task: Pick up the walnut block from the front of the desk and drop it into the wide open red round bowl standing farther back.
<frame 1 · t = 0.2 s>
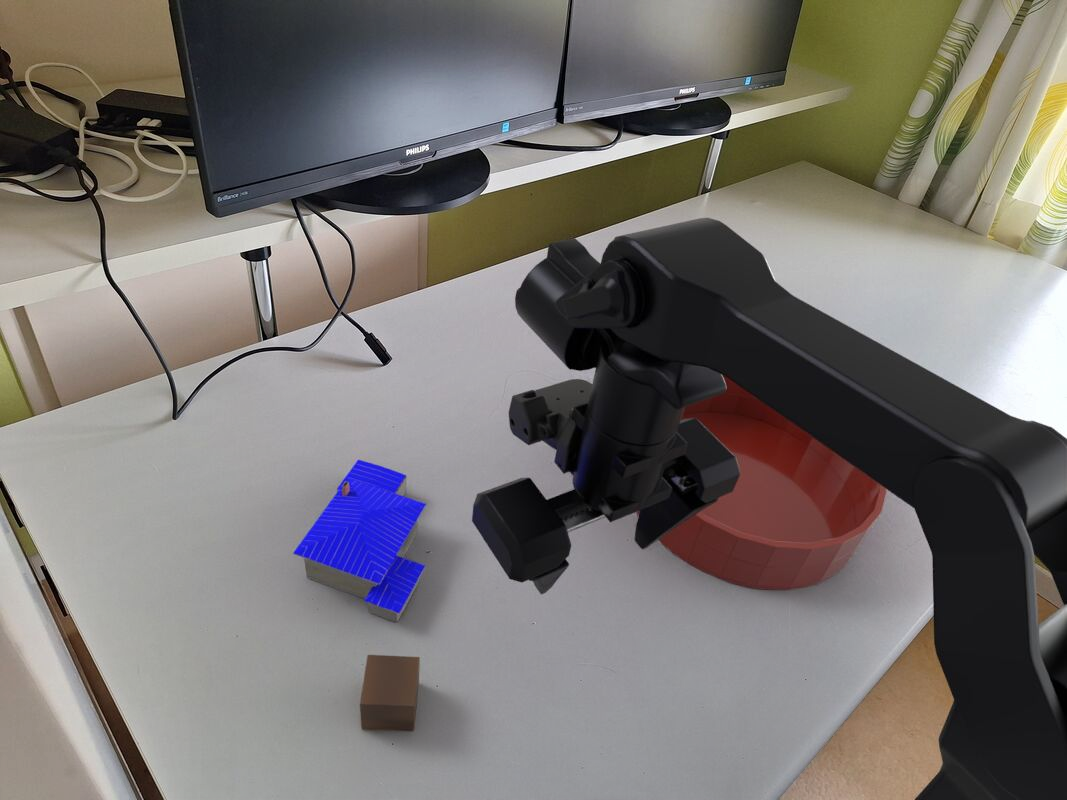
hand: (591, 565, 57), 12 cm above the table, tool pointing down, fingers open, 9 cm apart
house: (362, 552, 71), on the table
block: (391, 705, 60), on the table
red round bowl: (741, 490, 82), on the table
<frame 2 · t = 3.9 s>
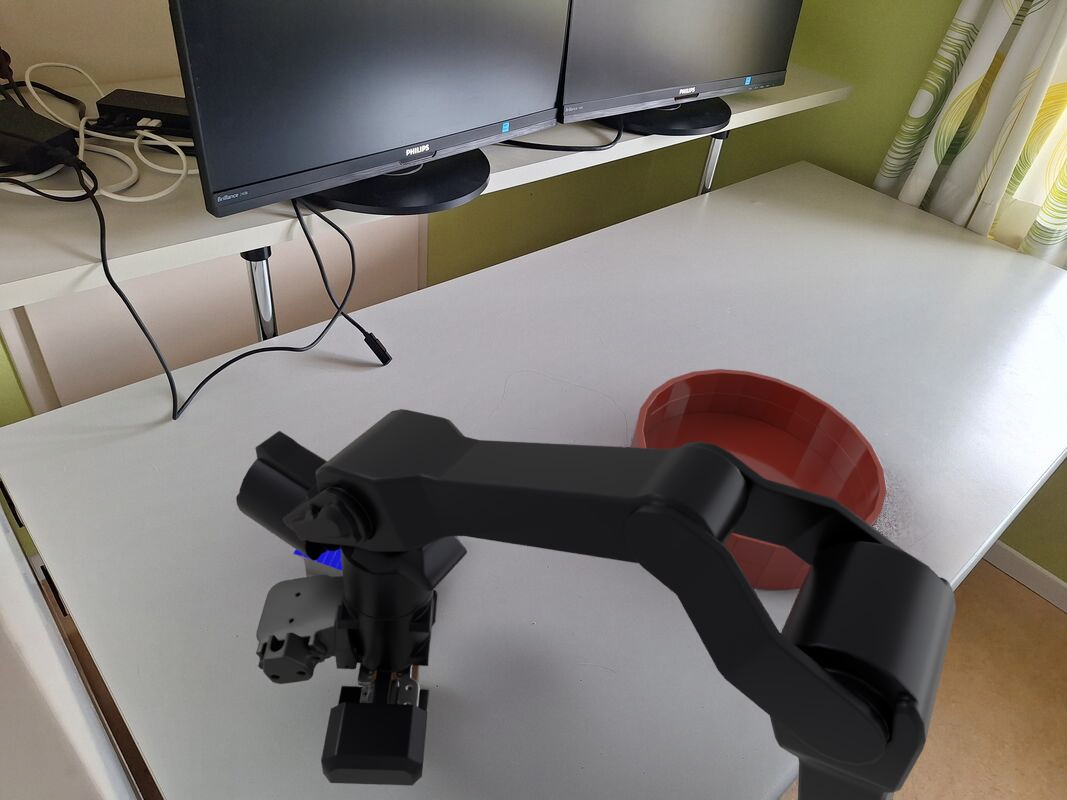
hand: (391, 699, 59), 1 cm above the table, tool pointing down, fingers closed on block, 4 cm apart
block: (390, 705, 60), on the table, touching gripper
everything else where it was.
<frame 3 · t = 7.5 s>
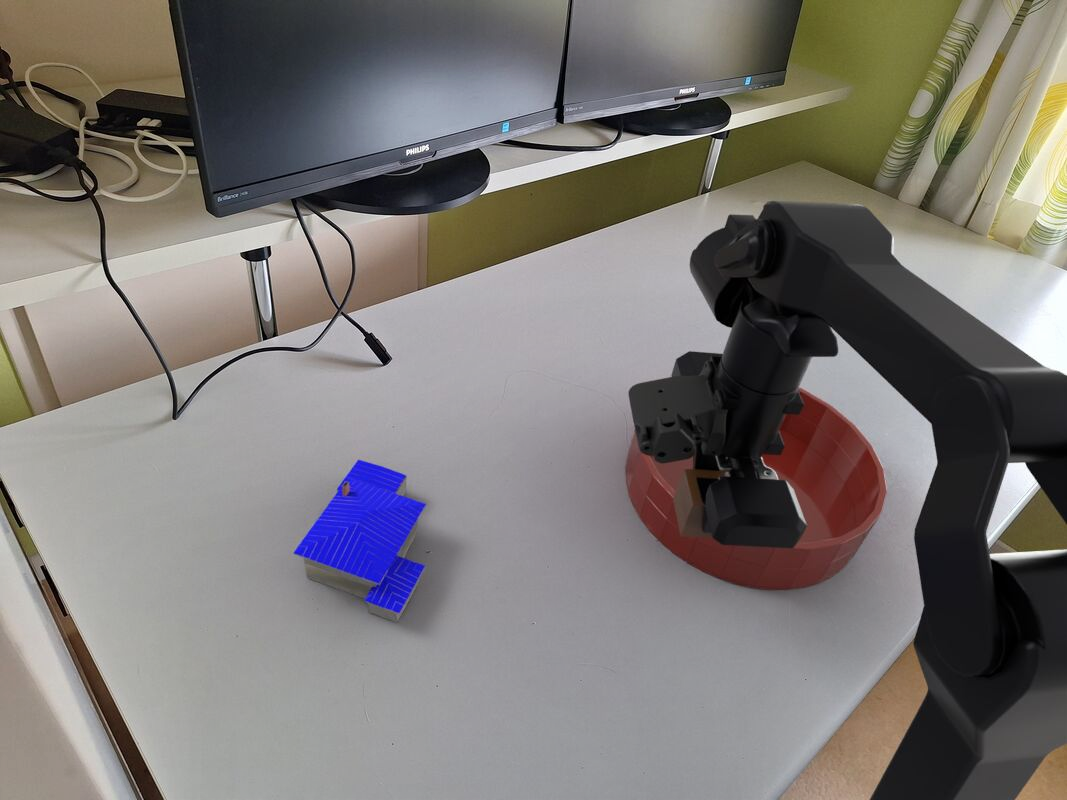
hand: (703, 511, 64), 11 cm above the table, tool pointing down, fingers closed on block, 4 cm apart
block: (699, 518, 65), point 10 cm above the table, touching gripper
everything else where it was.
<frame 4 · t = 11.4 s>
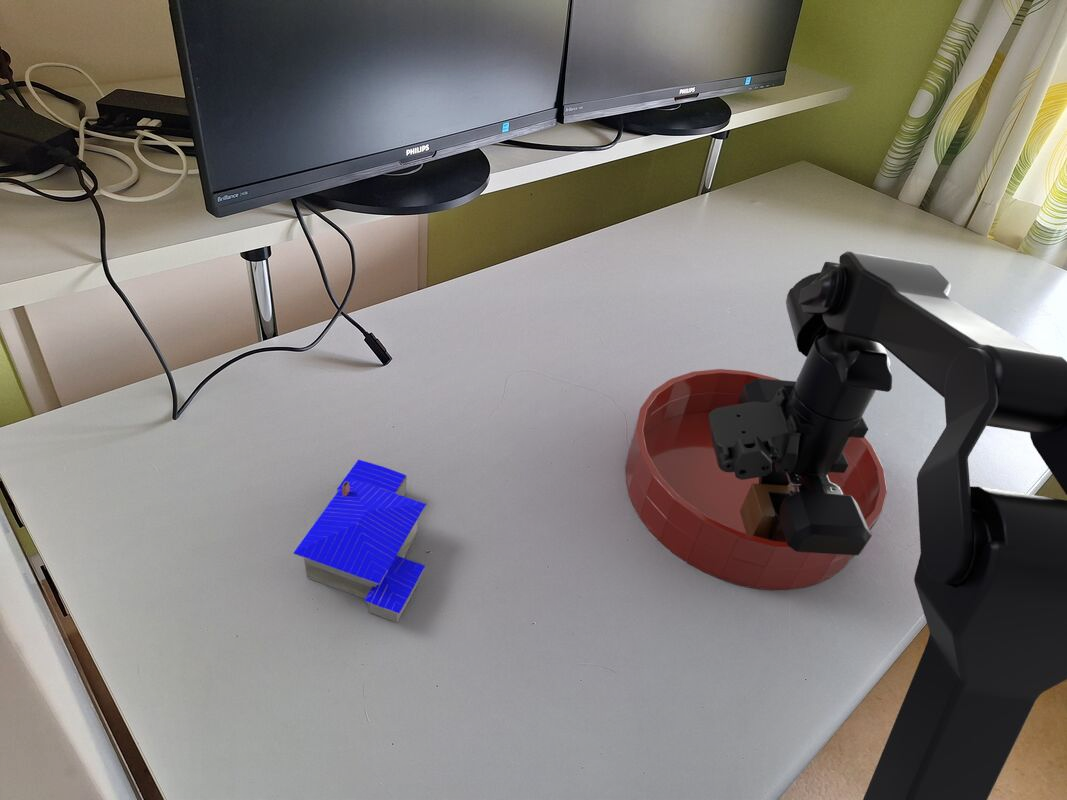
hand: (768, 521, 72), 6 cm above the table, tool pointing down, fingers closed on block, 4 cm apart
block: (764, 528, 72), point 5 cm above the table, touching gripper
everything else where it was.
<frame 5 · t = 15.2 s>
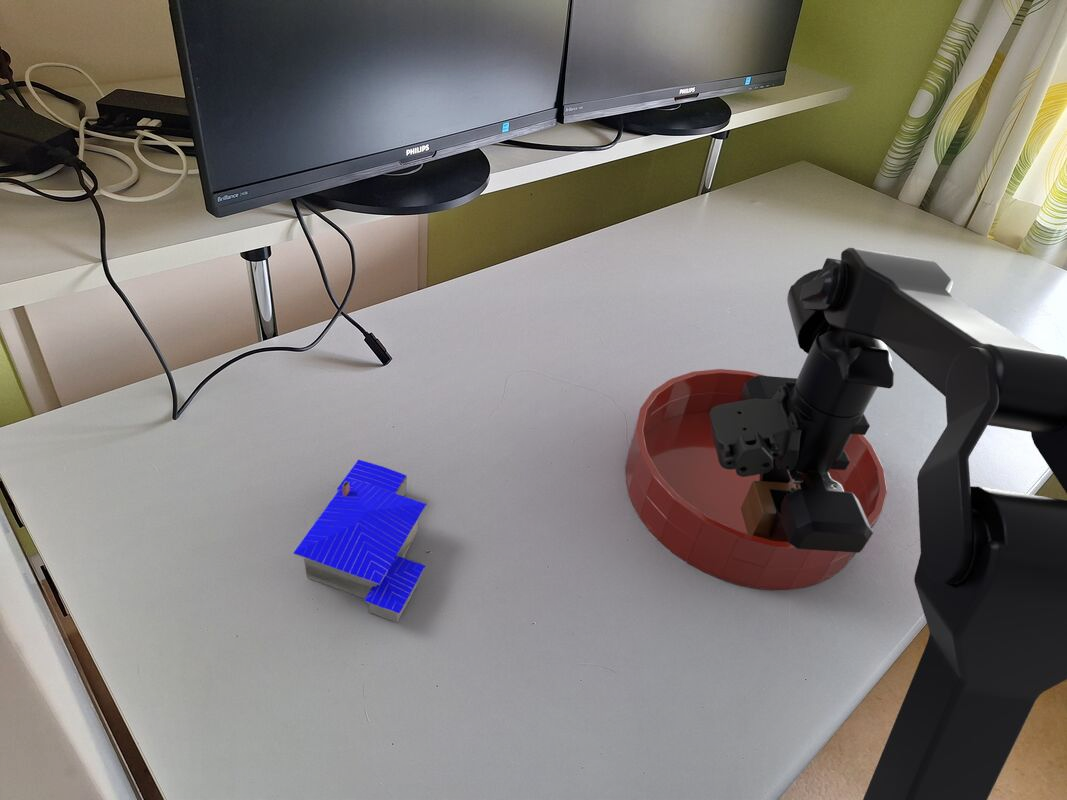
hand: (769, 518, 71), 6 cm above the table, tool pointing down, fingers closed on block, 4 cm apart
block: (765, 525, 72), point 5 cm above the table, touching gripper
everything else where it was.
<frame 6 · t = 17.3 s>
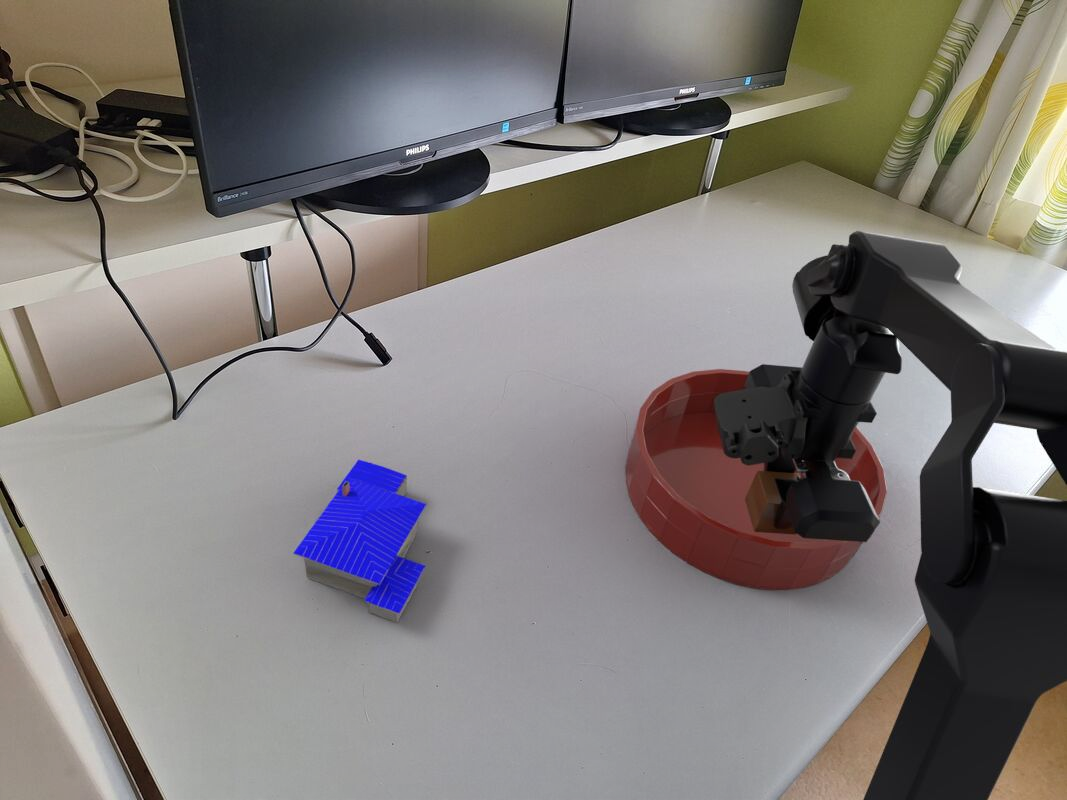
hand: (773, 509, 71), 7 cm above the table, tool pointing down, fingers closed on block, 4 cm apart
block: (769, 516, 71), point 6 cm above the table, touching gripper
everything else where it was.
when the fingers open (7 cm above the table, at t = 18.9 s): block drops 6 cm, resting on red round bowl.
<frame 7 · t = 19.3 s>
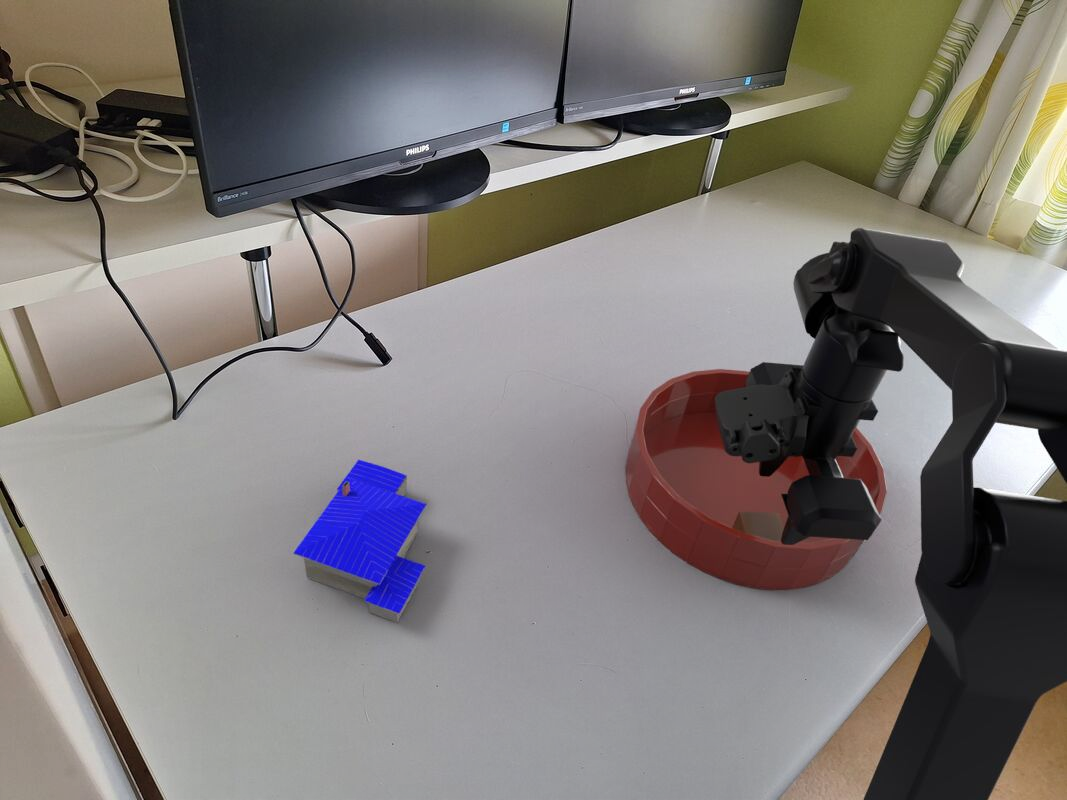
hand: (774, 507, 70), 7 cm above the table, tool pointing down, fingers open, 8 cm apart
block: (751, 554, 75), point 1 cm above the table, touching red round bowl
everything else where it was.
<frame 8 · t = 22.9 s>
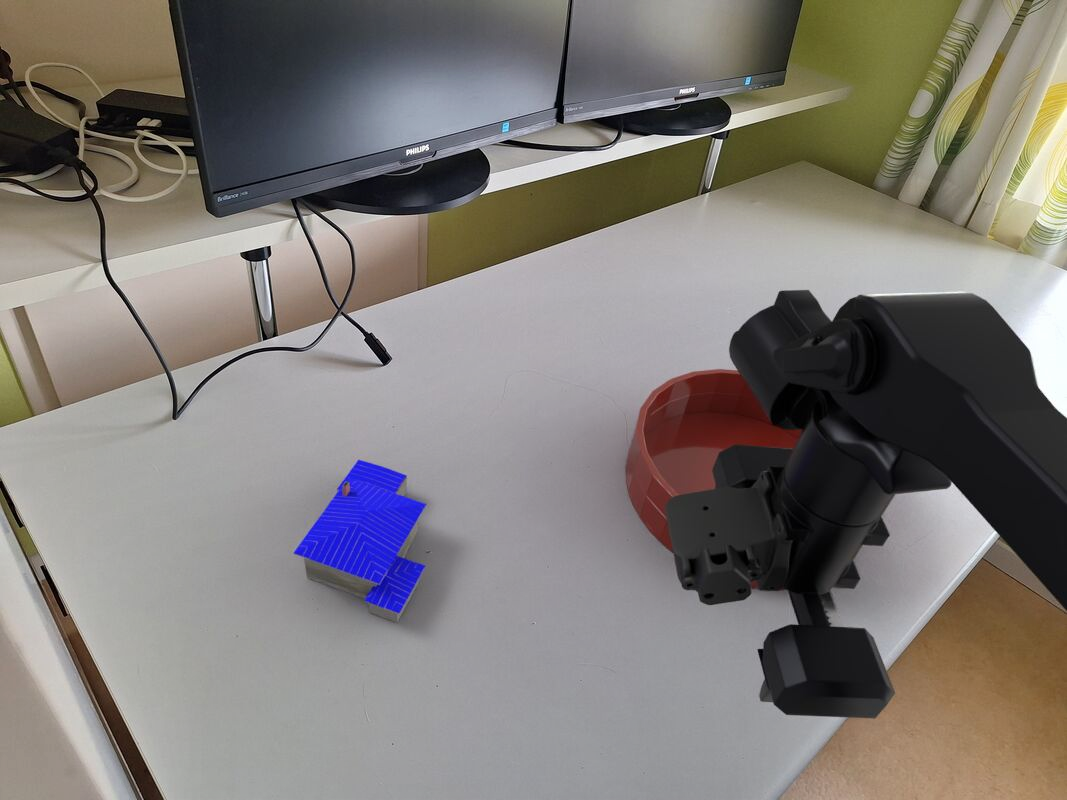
hand: (750, 636, 53), 13 cm above the table, tool pointing down, fingers open, 9 cm apart
nothing on the table moved.
at the end: block inside the target area in the red round bowl (8.9 cm from its centre), point 0.5 cm above the red round bowl's base; the gripper is holding nothing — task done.
